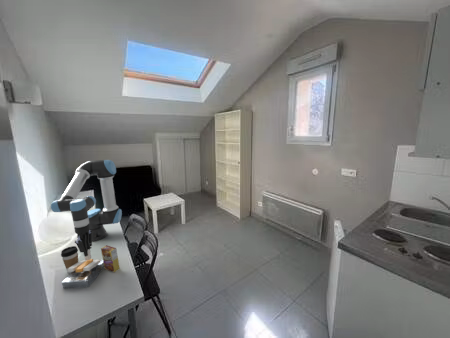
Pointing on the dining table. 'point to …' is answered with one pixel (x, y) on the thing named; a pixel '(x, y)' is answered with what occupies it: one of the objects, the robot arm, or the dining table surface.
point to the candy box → (110, 258)
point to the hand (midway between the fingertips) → (88, 259)
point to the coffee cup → (69, 256)
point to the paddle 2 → (92, 265)
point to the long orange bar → (83, 265)
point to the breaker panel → (82, 277)
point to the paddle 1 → (75, 266)
